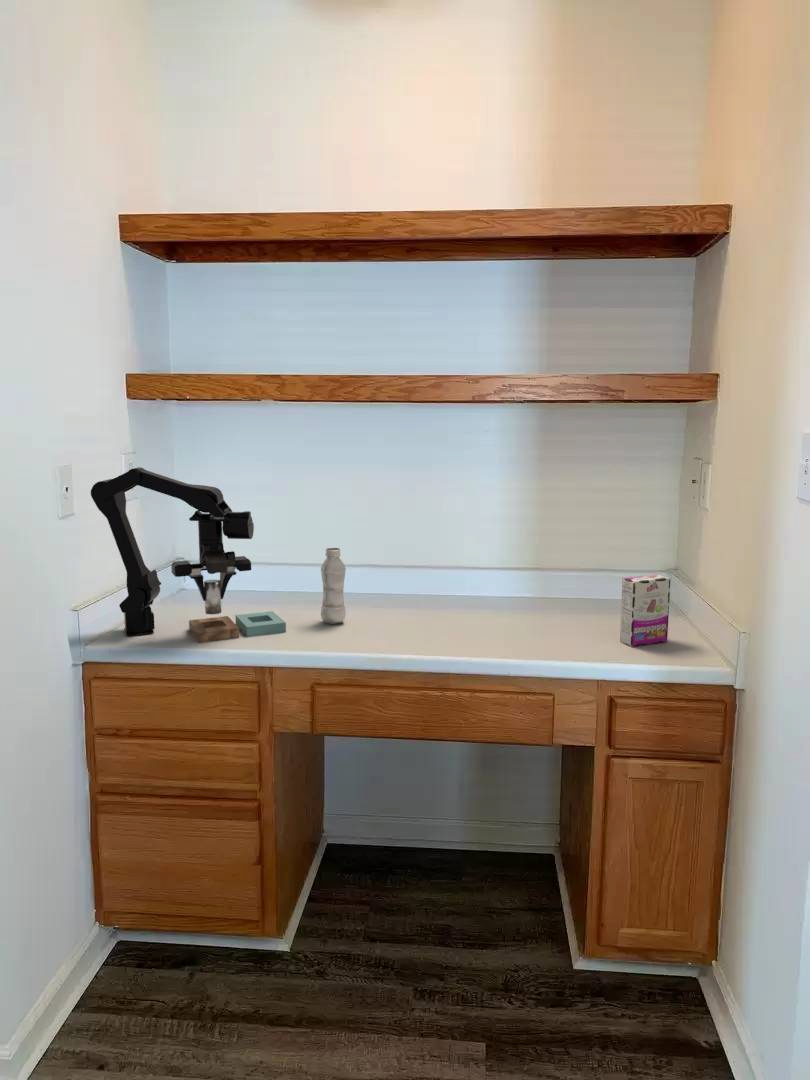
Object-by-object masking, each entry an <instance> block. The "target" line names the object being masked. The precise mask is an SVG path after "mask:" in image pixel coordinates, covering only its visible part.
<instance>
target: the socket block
mask: <svg viewBox="0 0 810 1080" xmlns="http://www.w3.org/2000/svg"><path fill="white" fill-rule="evenodd" d="M188 630H189V631H190V633H191V635H192V636H193V637H194V639H195V640H196V641H197V643H199V644H200V643H207V642H214V641H216V642H218V641H225V640H231V639H232V640H233V639H239V638H240V628H239V627H238V626H237V625H236V622H234V621H233V620H232V618H231V617H229V616H228V615H224V616H217V617H214V616H213V617H207V618H199V619H198V618H197V619H190V620H188Z"/></svg>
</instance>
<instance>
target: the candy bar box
mask: <svg viewBox="0 0 810 1080" xmlns="http://www.w3.org/2000/svg"><path fill="white" fill-rule="evenodd" d="M621 584H622V587H621V609H620V631H619V632H620V633H619V634H620V636H619V641H620V642H621V643H622V642H623V643H622V644H624V643H625V645H626V644H627V645H626V646H629V647H631V646H634V647H640V645H642V646H647V645H648V644H649V645H655V644H662V643H666V642H668V634H669V633H668V631H669V615H670V613H669V609H670V599H671V598H670V595H671V577H669V576H665V575H662V574H650V575H640V576H633V577H632V576H630V577H623V578H622V582H621Z"/></svg>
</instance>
